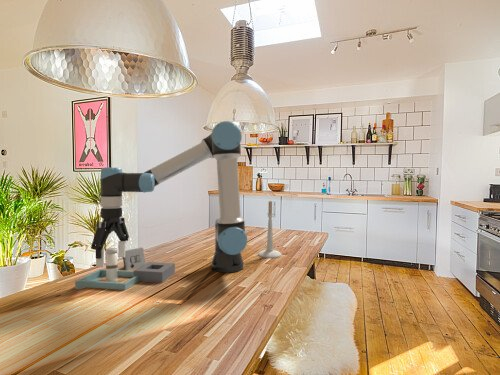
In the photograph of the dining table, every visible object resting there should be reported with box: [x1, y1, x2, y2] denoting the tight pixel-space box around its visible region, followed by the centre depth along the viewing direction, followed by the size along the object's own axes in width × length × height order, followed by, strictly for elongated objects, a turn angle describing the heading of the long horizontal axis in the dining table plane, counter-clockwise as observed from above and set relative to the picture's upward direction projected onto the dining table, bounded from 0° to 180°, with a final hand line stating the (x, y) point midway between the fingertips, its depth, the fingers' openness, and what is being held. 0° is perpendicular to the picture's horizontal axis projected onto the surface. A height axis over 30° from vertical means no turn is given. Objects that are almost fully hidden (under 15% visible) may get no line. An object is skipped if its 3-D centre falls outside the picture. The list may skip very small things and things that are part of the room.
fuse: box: [105, 247, 119, 282], centre depth 111 cm, size 4×4×13 cm
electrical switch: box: [122, 247, 147, 271], centre depth 131 cm, size 9×5×9 cm, turn 141°
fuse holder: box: [133, 261, 176, 284], centre depth 117 cm, size 12×12×5 cm
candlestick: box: [257, 200, 282, 259], centre depth 156 cm, size 13×13×30 cm
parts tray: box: [74, 268, 139, 291], centre depth 111 cm, size 20×14×3 cm
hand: (111, 261), depth 111 cm, fingers open, 13 cm apart
